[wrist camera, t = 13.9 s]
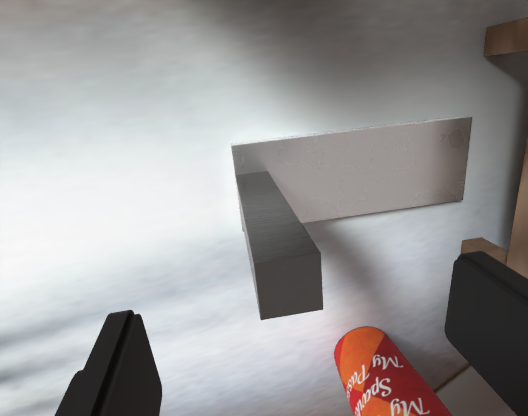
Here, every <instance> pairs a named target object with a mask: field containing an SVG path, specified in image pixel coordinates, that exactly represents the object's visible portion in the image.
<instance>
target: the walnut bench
mask: <svg viewBox="0 0 528 416" xmlns="http://www.w3.org/2000/svg"><path fill="white" fill-rule="evenodd" d="M524 51H528V17H527V18H523V19H519V20H515V21H511V22H507V23H503V24H499V25H495V26H492V27H488V28H487V32H486V41H485V49H484V56H492V55H501V54H510V53H517V52H524ZM475 251H483V252H485V253H487V254H488V255H490V256H492V257H493V258H495V259H496V260H498V261H500V262H501V263H503V264H505V265H506V266H508V267H509V268H511V269H513V270H514V271H516V272H517V273H519V274H521V275H522V276H524V277H525V278H527V279H528V140H527V146H526V152H525V158H524V163H523V169H522V175H521V181H520V187H519V193H518V199H517V204H516V210H515V216H514V222H513V228H512V234H511V239H510V245H509V251H506V250H504V249H502V248H500V247H498V246H497V245H495V244H493V243H491V242H489V241H487V240H485V239H484V238H476V239H470V240H463V241H462V247H461V254H463V253H469V252H475Z"/></svg>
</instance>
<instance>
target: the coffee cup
mask: <svg viewBox="0 0 528 416" xmlns="http://www.w3.org/2000/svg"><path fill="white" fill-rule="evenodd" d="M334 358H335V362H336V366H337V369H338V372H339V375H340V378H341V380H342V383H343V386H344V389H345V392H346V395H347V397H348V400H349V403H350V406H351V409H352V411H353V414H354V416H452V415H451V413H450V412H449V411H448V409H447V408H446V407H445V406H444V404H443V403H442V402H441V400H440V399H439V398H438V397H437V395H436V394H435V393H434V391H433V390H432V389H431V388H430V387H429V385H428V384H427V383H426V382H425V381H424V379H423V378H422V377H421V376H420V375H419V374H418V372H417V371H416V370H415V369H414V368H413V366H412V365H411V364H410V363H409V362H408V360H407V359H406V358H405V357H404V356H403V354H402V353H401V352H400V351H399V349H398V348H397V347H396V346H395V345H394V344H393V342H392V341H391V340H390V339H389V338H388V337H387V335H386V334H385V333H384V332H382V331H381V330H379V329H377V328H374V327H360V328H356V329H354V330H352V331H350V332H348V333H347V334H345V335H344V336H343V337H342V338H341V339H340V340H339V342H338V343H337V345H336V348H335V351H334Z"/></svg>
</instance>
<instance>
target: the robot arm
mask: <svg viewBox="0 0 528 416" xmlns="http://www.w3.org/2000/svg"><path fill="white" fill-rule="evenodd" d="M445 334H446V337H447V338H448V340H449V341H450V343H451V344H452V345H453V346H454V347H455V348H456V349H457V350H458V351H459V352H460V353H461V355H462V356H463V357H464V358H465V359H466V360H467V361H468V362H469V363H470V364H471V365H472V367H473V368H474V369H475V370H476V371H477V372H478V373H479V374H480V375H481V376H482V377H483V379H484V380H485V381H486V382H487V383H488V384H489V385H490V386H491V387H492V388H493V389H494V390H495V392H496V393H497V394H498V395H499V396H500V397H501V398H502V399H503V400H504V401H505V403H506V404H507V405H508V406H509V407H510V408H511V409H512V410H513V411H514V412H515V413H516V414H517V416H528V279H527V278H525V277H524V276H522V275H521V274H519V273H517V272H516V271H514V270H513V269H511V268H509V267H508V266H506V265H505V264H503V263H501V262H500V261H498V260H496V259H495V258H493V257H492V256H490V255H488V254H487V253H485V252H483V251H475V252H469V253H463V254H460V255H459V257H458V259H457V260H455V262H454V265H453V272H452V280H451V287H450V294H449V301H448V308H447V315H446V323H445ZM161 400H162V385H161V381H160V378H159V374H158V371H157V368H156V364H155V361H154V357H153V354H152V351H151V347H150V344H149V340H148V337H147V334H146V330H145V327H144V324H143V320H142V317H141V315H140V314H136V315H135V314H134V312H133V311H132V310H127V311H121V312H115V313H110V314H109V315H108V316H107V318H106V320H105V323H104V325H103V327H102V329H101V331H100V334H99V336H98V338H97V340H96V343H95V345H94V347H93V349H92V351H91V354H90V356H89V358H88V360H87V363H86V365H85V367H84V369H83V370H80V371H78V372H77V373H76V374H75V375H74V377H73V378H72V380H71V382H70V384H69V387H68V389H67V391H66V393H65V395H64V397H63V399H62V401H61V403H60V406H59V408H58V410H57V412H56V414H55V416H159V413H160V406H161Z"/></svg>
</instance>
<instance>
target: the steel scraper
mask: <svg viewBox="0 0 528 416" xmlns="http://www.w3.org/2000/svg"><path fill="white" fill-rule="evenodd" d="M471 123H472V117H469V116H458V117H450V118H442V119H433V120H425V121H417V122H408V123H400V124H392V125H383V126H375V127H367V128H358V129H350V130H342V131H333V132H325V133H317V134H308V135H300V136H291V137H283V138H275V139H266V140H258V141H250V142H241V143H233V144H231V148H232V155H233V163H234V170H235V178H236V185H237V193H238V200H239V208H240V215H241V223H242V229H243V232H244V233H245V238H246V244H247V249H248V254H249V260H250V265H251V270H252V276H253V281H254V286H255V292H256V297H257V302H258V308H259V313H260V318H261V320H264V319H270V318H276V317H282V316H288V315H294V314H300V313H305V312H311V311H317V310H323V294H322V272H321V253H320V252H319V250H318V248H317V247H316V245H315V244H314V242H313V241H312V239H311V238H310V236H309V234H308V233H307V231H306V230H305V228H304V227H303V225H302V224H301V223H306V222H313V221H320V220H327V219H334V218H341V217H348V216H355V215H361V214H368V213H375V212H382V211H389V210H396V209H403V208H410V207H417V206H424V205H431V204H437V203H444V202H451V201H458V200H463V194H464V185H465V176H466V167H467V158H468V149H469V141H470V132H471Z"/></svg>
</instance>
